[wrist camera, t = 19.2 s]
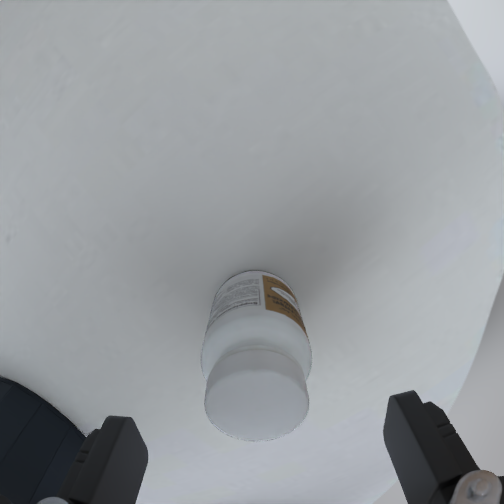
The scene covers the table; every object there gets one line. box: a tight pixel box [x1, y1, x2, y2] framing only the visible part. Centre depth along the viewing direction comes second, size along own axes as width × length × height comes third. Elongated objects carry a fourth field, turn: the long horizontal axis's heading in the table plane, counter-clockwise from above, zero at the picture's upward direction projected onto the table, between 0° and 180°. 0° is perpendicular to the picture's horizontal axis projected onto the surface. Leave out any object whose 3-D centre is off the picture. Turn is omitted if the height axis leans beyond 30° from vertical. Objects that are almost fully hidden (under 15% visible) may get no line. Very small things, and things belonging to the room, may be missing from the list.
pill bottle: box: [201, 271, 312, 441], centre depth 13 cm, size 4×4×8 cm
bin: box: [0, 377, 85, 504], centre depth 15 cm, size 15×15×12 cm
